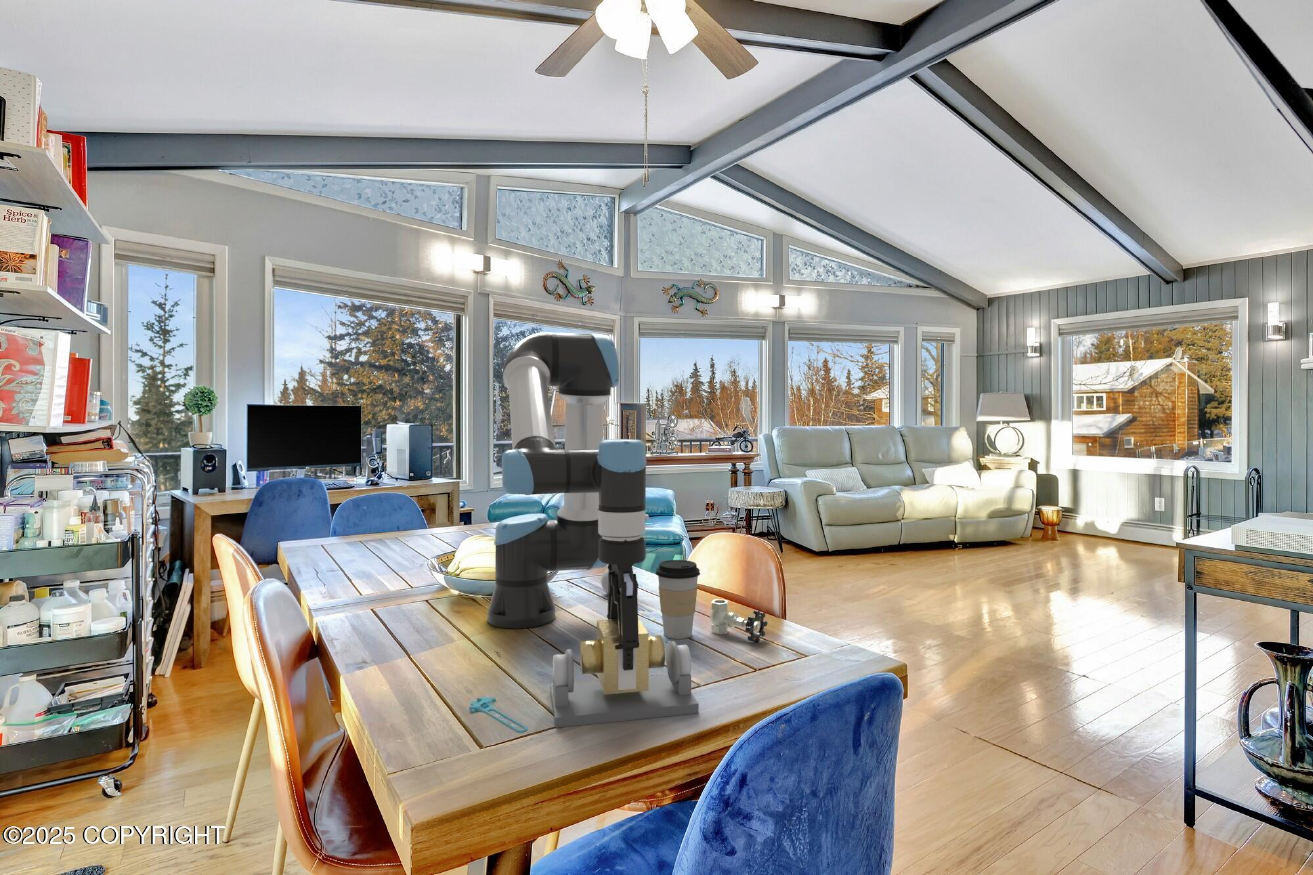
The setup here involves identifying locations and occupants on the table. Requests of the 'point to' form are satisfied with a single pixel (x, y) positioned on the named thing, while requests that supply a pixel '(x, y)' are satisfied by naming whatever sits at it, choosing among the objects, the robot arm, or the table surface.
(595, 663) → the brass gate valve
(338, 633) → the table surface
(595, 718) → the pipe run plate
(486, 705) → the adjustable wrench
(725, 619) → the valve
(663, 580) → the coffee cup
